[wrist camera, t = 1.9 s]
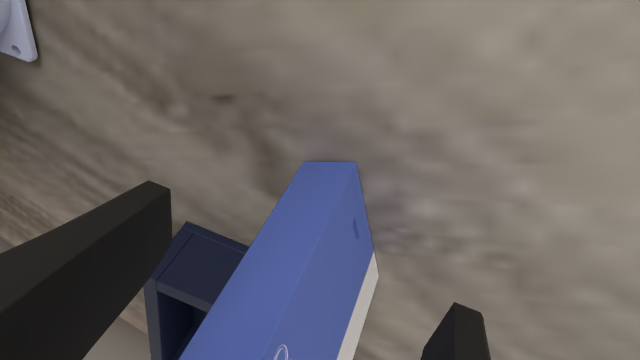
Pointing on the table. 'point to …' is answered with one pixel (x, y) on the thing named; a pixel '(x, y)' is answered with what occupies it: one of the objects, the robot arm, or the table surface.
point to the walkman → (298, 277)
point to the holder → (187, 287)
